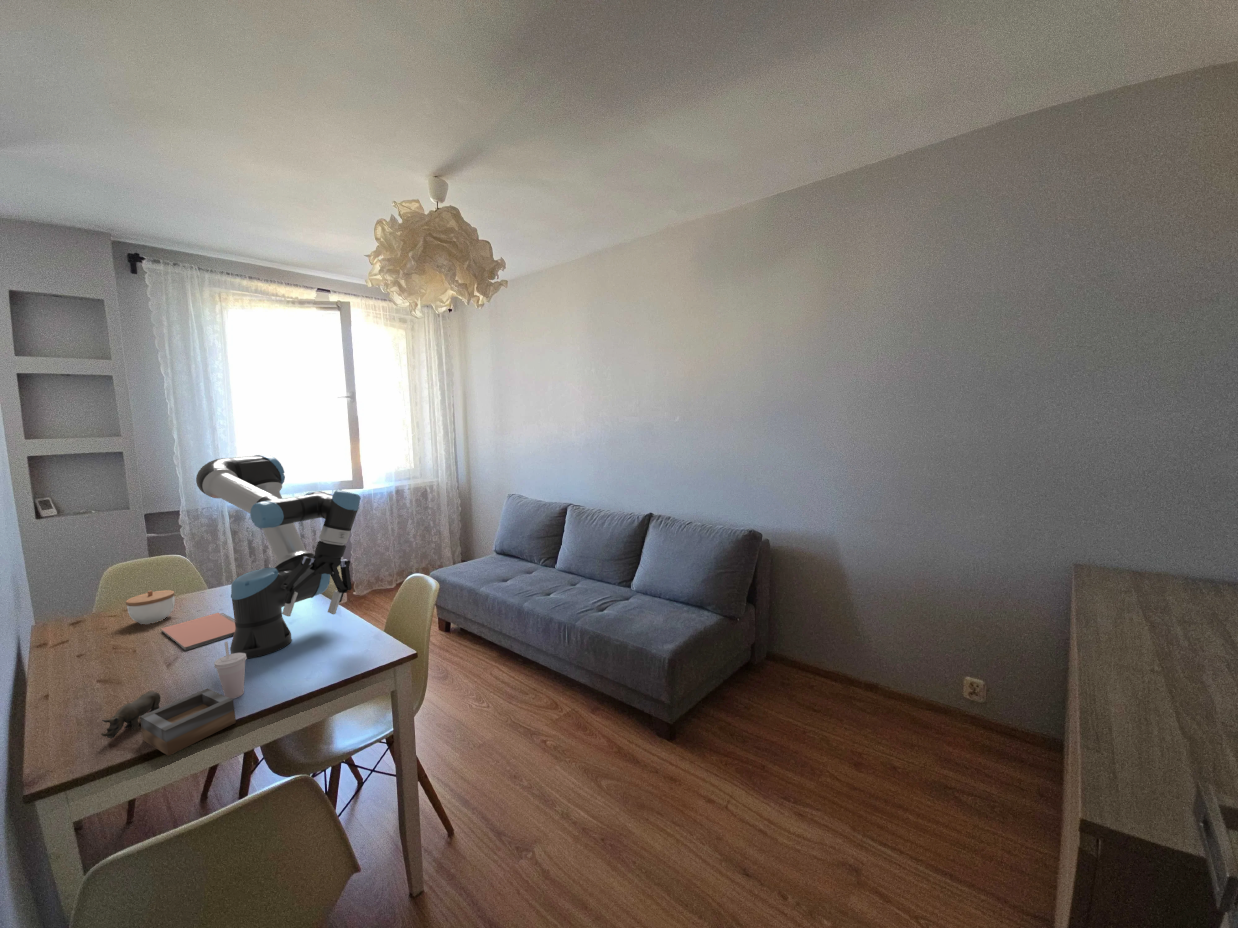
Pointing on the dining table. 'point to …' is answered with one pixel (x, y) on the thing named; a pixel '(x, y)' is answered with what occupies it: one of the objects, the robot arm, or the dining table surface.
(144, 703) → the rhino figurine
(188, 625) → the notebook
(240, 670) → the smoothie
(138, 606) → the lidded bowl
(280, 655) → the dining table surface
